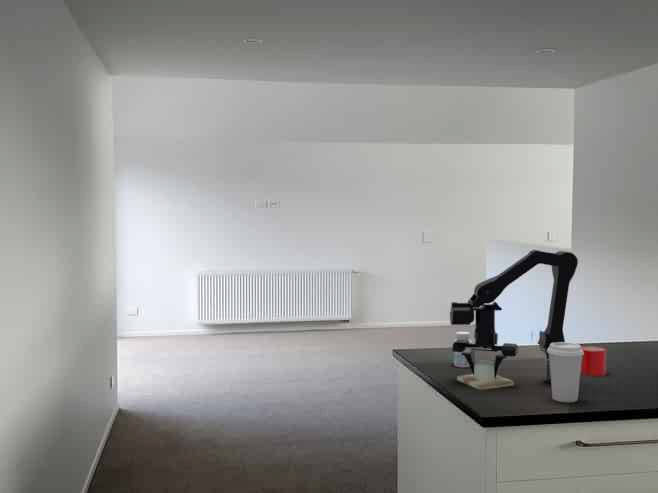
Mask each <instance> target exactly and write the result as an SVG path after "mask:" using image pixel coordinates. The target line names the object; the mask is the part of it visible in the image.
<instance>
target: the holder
mask: <svg viewBox="0 0 658 493" xmlns="http://www.w3.org/2000/svg"><path fill="white" fill-rule="evenodd" d="M456 380H457V381H458V382H461V383H463V384H465V385H467V386H470V387H472V388H474V389H478V390H479V391H482V390H488V389H497V388H503V387H504V388H505V387H511V386H512V387H513V386H514V385H515V381H514V380H511V379H509V378H506V377H503V376H501V375H499V374H497V377H496V379H495V380H494V381H478V380H476V379H474V375H473V373H471V374H466V375H465V374H463V375H457V376H456Z"/></svg>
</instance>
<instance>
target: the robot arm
mask: <svg viewBox="0 0 658 493" xmlns="http://www.w3.org/2000/svg"><path fill="white" fill-rule="evenodd" d="M578 264H579V260H578V257H577V255H576V254H574V253H573V252H569V251H566V250H565V251H564V250H560V251H557V252H555V253H554V252H548V251H541V250H539V249H538V250H537V249H532V250H530V251H529V252H528V253H527V254H526V255H524V256H523V257H521V258H520V259H519V260H517V261H516V262H515V263H512V264H511V266H509V267H507V268H505V270H503V271H501V272H500V273H499V274H497V275H495V276H493V277H490V278H487V279H485V280H483V281H482V282H479V283H477V284H476V285H475V286H474V290H473V294H472V295H471V297H470V298H469V299H468V301H467V302H455V301H454V302H453V301H452V302H451V303H450V304H451V305H450V311H449V321H450V325H451V326H462V325H463V326H470V325H471V323H473V322H475V323H474V325H475V328H474V333H473V334H474V335H473V337H474V338H473V339H474V341H475V342H474V343H472V344H471V343H469V340H457V341H455V342H454V341H453V343H452V352H453V353H454V352H462V353H461V355H464V356H465V358H466V359H467V361H468V363H469V365H470V367H469V368H470V370H471V372H472V373H471V374H473V375H474V364H475V361H476V358H475V357H476V356H475V354H476V351H480V352H481V351H483V352H495V353H497V355H495V359H494V362H495V370H494V375H495V377H497V375H499V374H498V373H499V370H500V368H501V365H502V363H503V361H504V359H506V360H507V358H508V357H516V356H517V355H518V354H519V345H518V344H517V343H510V342H509V343H508V342H504V343H503V344H502V345H498V340H499V339H498V338H499V337H498V336H499V334H498V333H497V332H496V311H502V310H503V308H502V307H501V306H500V305H499V304H498V302H496V301H495V300H497V298H498V297H500V295H501V294H502V293H503V292H504V291H505V289H506V288H507V287H508V286H510V285H511V284H512V283H513V282H515V281H517V280H518V279H519V278H520V277H522V276H523V275H524V274H526V273H527V272H529V271H530V270H532V269H533V268H534V267H536V266H538V265H545V266H551V272H552V276H553V285H552V290H551V291H552V292H551V298H550V306H549V313H548V318H547V319H548V320H547V326H546V328H545V329H544V331H543V330H539V334H538V335H539V336H538V337H539V339H538V341H537V345H539V350H540V352H541V353H542V354H543V355H544V356H545V357H546V360H547V365H546V378H543V380H542V381H543V382H545V383H548V384H551V373H550V361H549V353H548V352H547V349H548V348H549V347H550V344H551V343H555V342H566V338H565V335H564V330H563V328H564V322H565V315H566V309H567V308H566V307H567V302H568V301H567V300H568V294H569V287H570V283H571V281H572V279H573V277H574V276H575V273H576V271H577V267H578Z"/></svg>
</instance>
